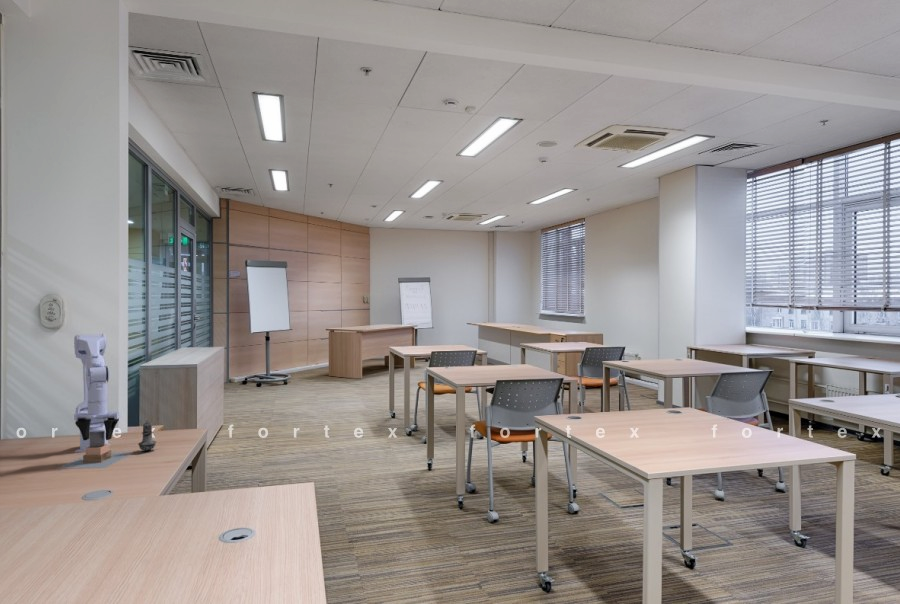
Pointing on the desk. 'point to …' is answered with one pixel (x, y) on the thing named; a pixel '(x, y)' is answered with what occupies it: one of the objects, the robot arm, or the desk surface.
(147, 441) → the salt shaker
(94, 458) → the tower base
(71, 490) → the desk surface
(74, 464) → the mat
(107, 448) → the tower middle
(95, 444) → the dark grey cylinder
